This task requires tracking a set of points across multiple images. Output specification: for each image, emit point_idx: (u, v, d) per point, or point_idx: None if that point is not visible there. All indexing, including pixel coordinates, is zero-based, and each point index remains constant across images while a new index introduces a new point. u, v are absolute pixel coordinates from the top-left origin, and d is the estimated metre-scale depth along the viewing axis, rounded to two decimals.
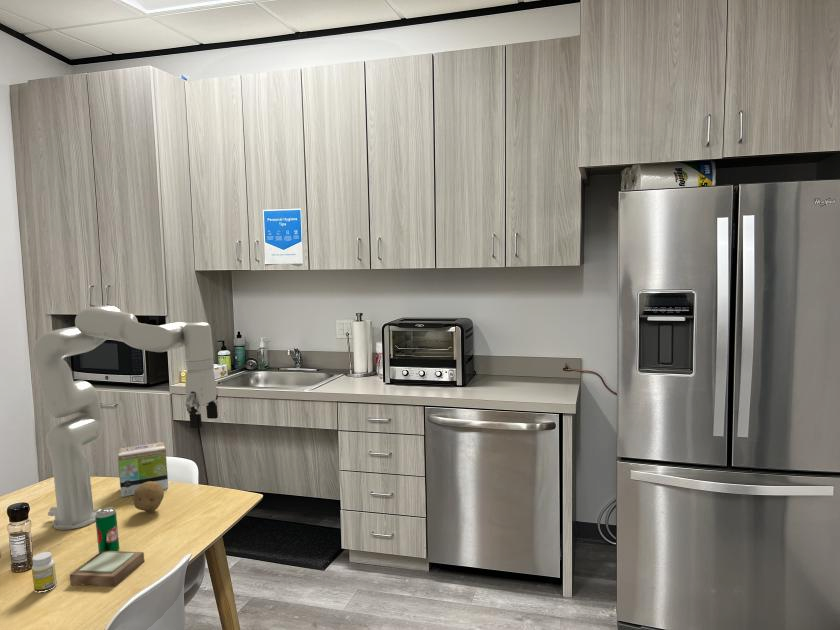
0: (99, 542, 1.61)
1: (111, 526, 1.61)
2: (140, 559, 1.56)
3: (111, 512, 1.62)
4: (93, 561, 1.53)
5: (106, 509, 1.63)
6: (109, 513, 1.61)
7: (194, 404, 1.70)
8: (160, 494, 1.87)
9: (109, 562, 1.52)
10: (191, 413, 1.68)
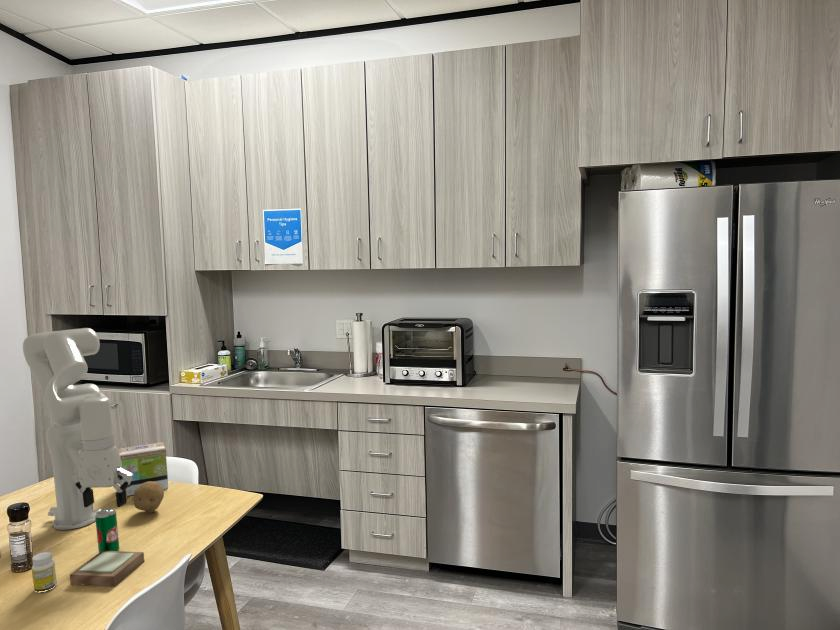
0: (99, 542, 1.61)
1: (111, 526, 1.61)
2: (140, 559, 1.56)
3: (111, 512, 1.62)
4: (93, 561, 1.53)
5: (106, 509, 1.63)
6: (109, 513, 1.61)
7: (117, 481, 1.60)
8: (160, 494, 1.87)
9: (109, 562, 1.52)
10: (124, 489, 1.60)
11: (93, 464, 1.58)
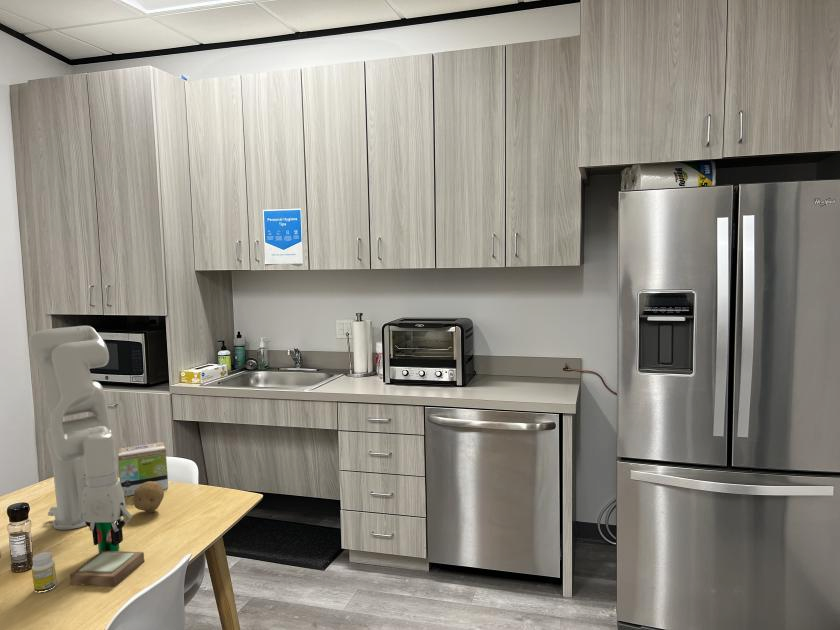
0: (99, 542, 1.61)
1: (111, 526, 1.61)
2: (140, 559, 1.56)
3: None
4: (93, 561, 1.53)
5: None
6: None
7: (117, 519, 1.62)
8: (160, 494, 1.87)
9: (109, 562, 1.52)
10: (120, 528, 1.62)
11: (96, 500, 1.59)
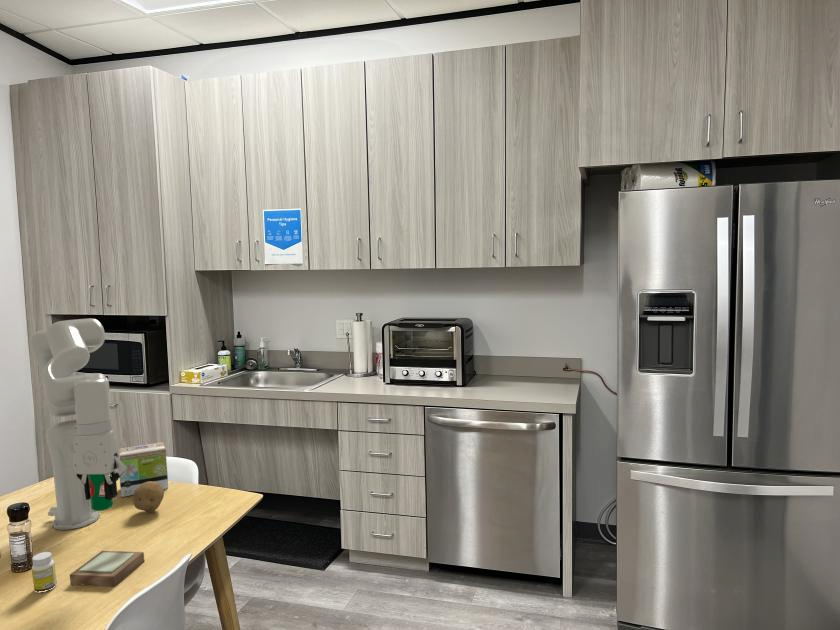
0: (91, 496, 1.49)
1: (104, 478, 1.49)
2: (140, 559, 1.56)
3: None
4: (93, 561, 1.53)
5: None
6: None
7: (111, 471, 1.50)
8: (160, 494, 1.87)
9: (109, 562, 1.52)
10: (115, 481, 1.50)
11: (88, 450, 1.47)
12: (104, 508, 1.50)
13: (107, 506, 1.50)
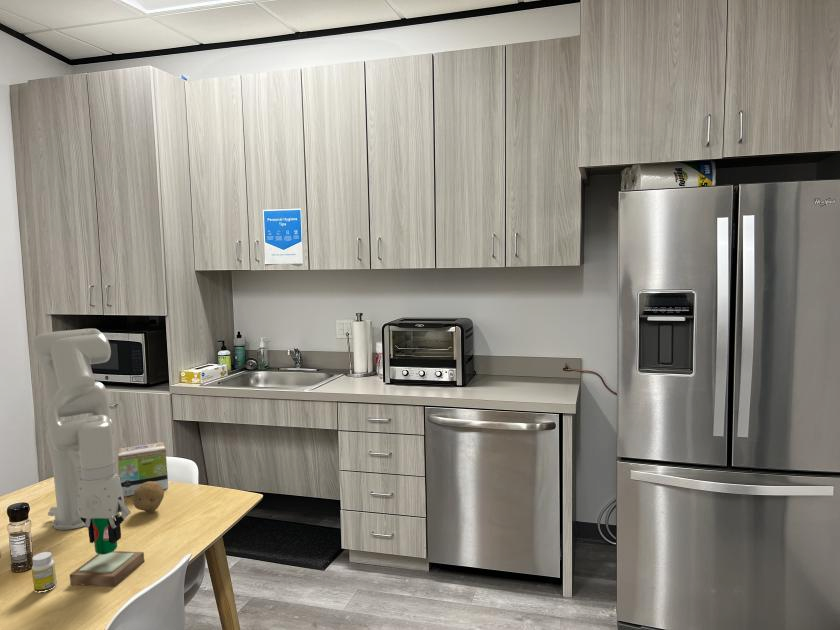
0: (95, 539, 1.49)
1: (108, 522, 1.50)
2: (140, 559, 1.56)
3: None
4: (93, 561, 1.53)
5: None
6: None
7: (115, 515, 1.50)
8: (160, 494, 1.87)
9: (109, 562, 1.52)
10: (118, 524, 1.50)
11: (92, 494, 1.48)
12: (108, 551, 1.50)
13: (111, 550, 1.51)
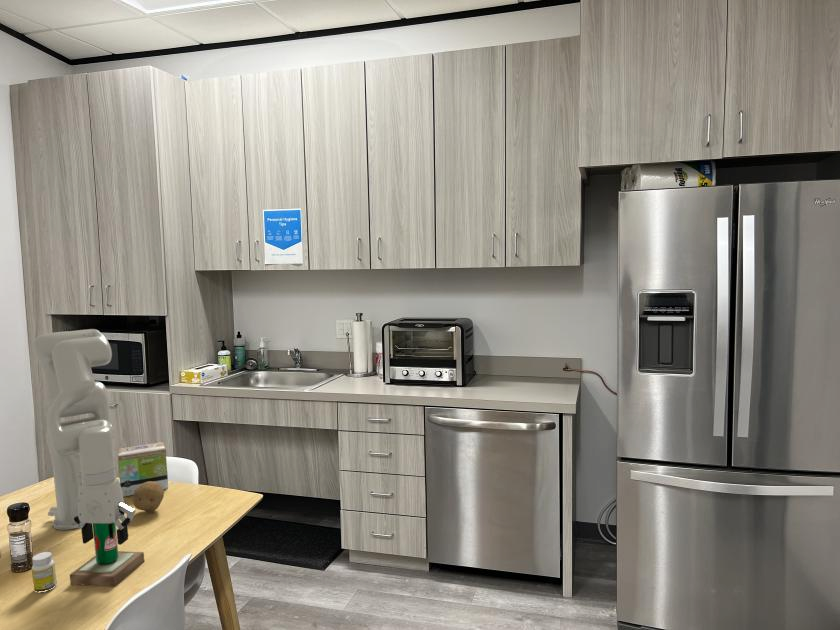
0: (97, 550, 1.50)
1: (109, 532, 1.50)
2: (140, 559, 1.56)
3: None
4: (93, 561, 1.53)
5: None
6: None
7: (119, 517, 1.50)
8: (160, 494, 1.87)
9: None
10: (126, 525, 1.50)
11: (93, 499, 1.48)
12: (109, 562, 1.51)
13: (112, 560, 1.51)
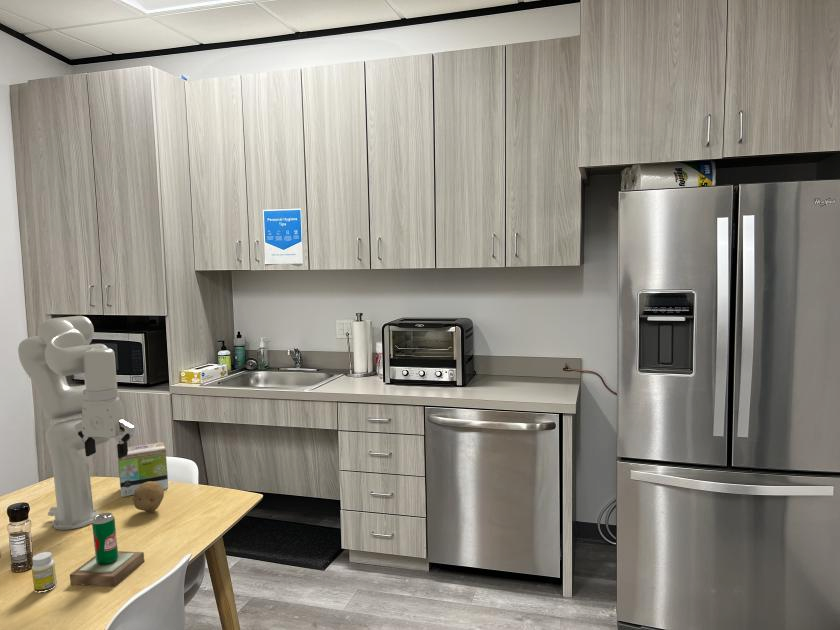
0: (96, 550, 1.50)
1: (109, 532, 1.50)
2: (140, 559, 1.56)
3: (109, 518, 1.51)
4: (93, 561, 1.53)
5: (104, 515, 1.52)
6: (107, 519, 1.50)
7: (119, 433, 1.61)
8: (160, 494, 1.87)
9: None
10: (126, 441, 1.61)
11: (96, 414, 1.58)
12: (109, 562, 1.51)
13: (112, 560, 1.51)
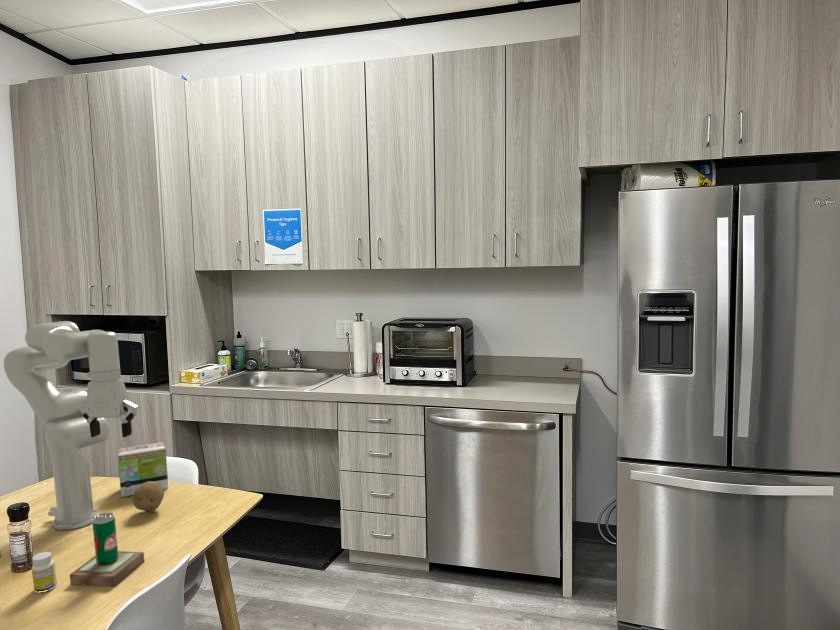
0: (96, 550, 1.50)
1: (109, 533, 1.50)
2: (140, 559, 1.56)
3: (109, 518, 1.51)
4: (93, 561, 1.53)
5: (104, 515, 1.52)
6: (107, 519, 1.50)
7: (123, 412, 1.67)
8: (160, 494, 1.87)
9: None
10: (129, 420, 1.67)
11: (100, 395, 1.65)
12: (109, 562, 1.51)
13: (112, 560, 1.51)
